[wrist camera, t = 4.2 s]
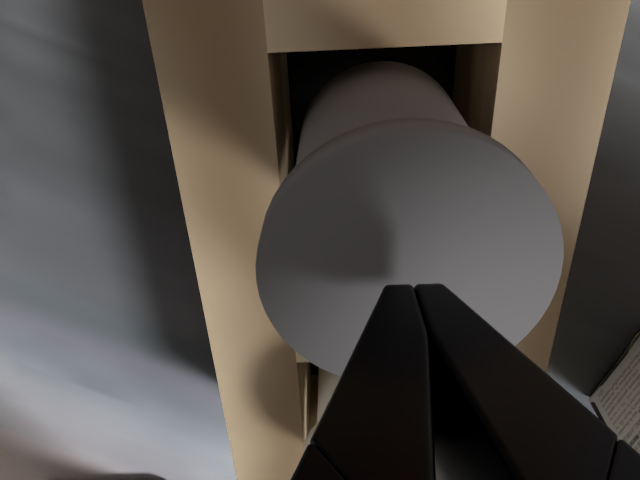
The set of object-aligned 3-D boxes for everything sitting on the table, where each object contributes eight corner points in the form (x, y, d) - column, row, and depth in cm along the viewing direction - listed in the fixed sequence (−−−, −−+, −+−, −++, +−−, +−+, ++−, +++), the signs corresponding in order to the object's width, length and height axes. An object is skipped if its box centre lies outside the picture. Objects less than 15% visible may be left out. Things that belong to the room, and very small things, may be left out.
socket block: (255, 401, 24) (240, 496, 20) (108, -564, 10) (-29, -854, 6) (488, 397, 23) (518, 493, 19) (647, -616, 10) (848, -957, 6)
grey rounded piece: (291, 227, 15) (270, 389, 10) (276, 47, 13) (237, 138, 7) (466, 222, 15) (536, 384, 10) (485, 38, 12) (593, 125, 7)
